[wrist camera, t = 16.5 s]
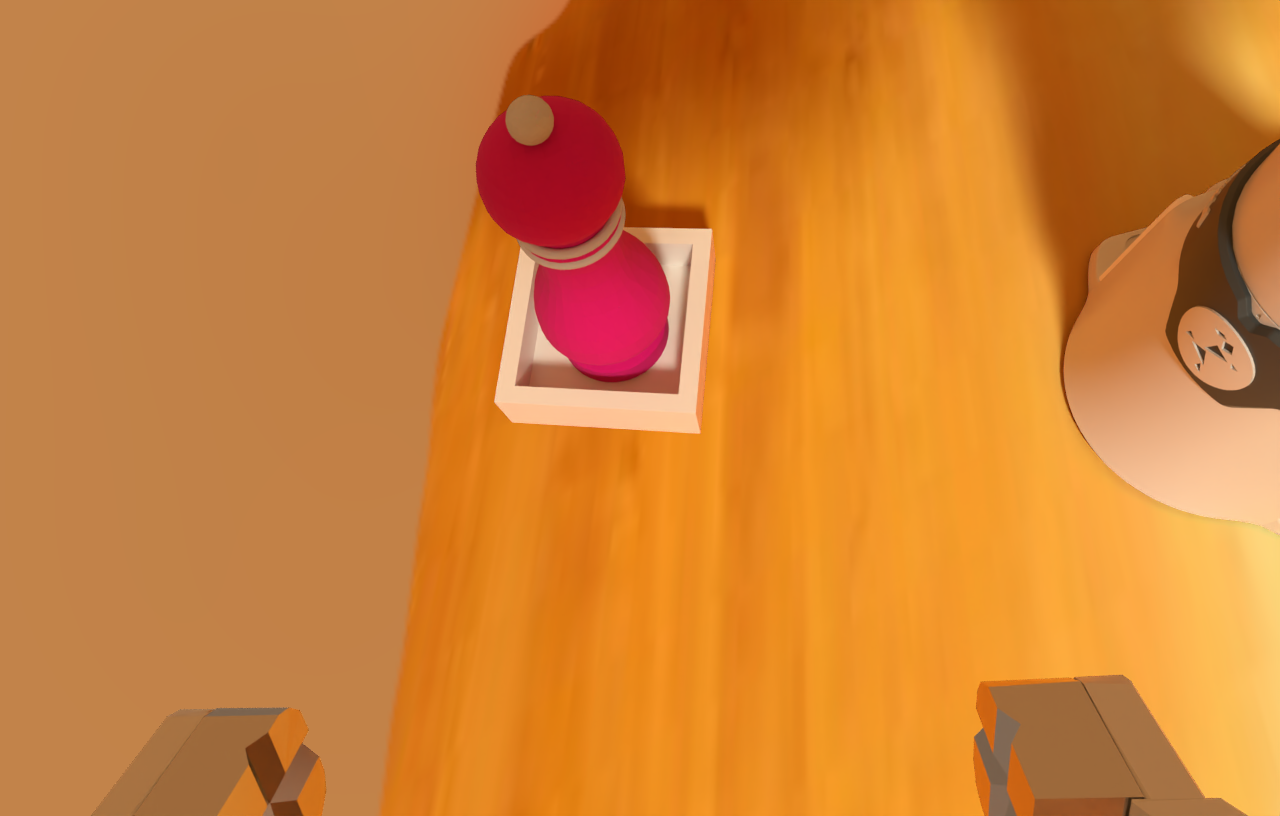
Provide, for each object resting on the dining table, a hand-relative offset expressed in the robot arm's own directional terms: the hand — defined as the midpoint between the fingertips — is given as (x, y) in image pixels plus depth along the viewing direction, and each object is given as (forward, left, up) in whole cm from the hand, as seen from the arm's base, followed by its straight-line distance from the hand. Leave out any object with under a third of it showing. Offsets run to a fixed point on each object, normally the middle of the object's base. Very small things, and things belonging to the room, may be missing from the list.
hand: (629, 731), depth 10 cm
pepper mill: (-3, -21, -34) cm, 40 cm away
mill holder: (-3, -21, -34) cm, 41 cm away
